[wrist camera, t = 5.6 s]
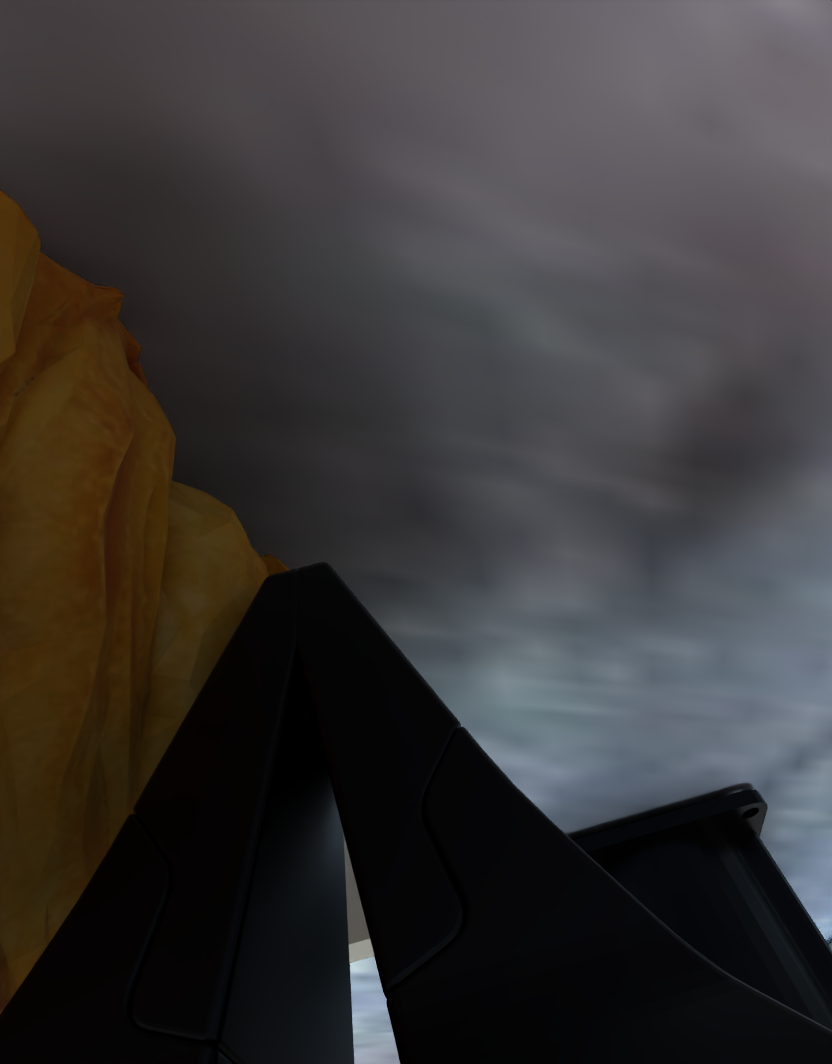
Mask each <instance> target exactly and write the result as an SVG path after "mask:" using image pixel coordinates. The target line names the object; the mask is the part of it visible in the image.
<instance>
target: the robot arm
mask: <svg viewBox="0 0 832 1064" xmlns="http://www.w3.org/2000/svg"><path fill="white" fill-rule="evenodd" d="M133 811H134V813H135V814H136V815H135V814H130V815H128V817H127V818H126V820H125V822H124V823H123V825H122V827H121V829H120V830H119V832H118V834H117V836H116V837H115V839H114V841H113V843H112V844H111V846H110V848H109V849H108V851H107V853H106V854H105V856H104V858H103V859H102V861H101V863H100V864H99V866H98V867H97V869H96V871H95V872H94V874H93V876H92V877H91V879H90V881H89V882H88V884H87V886H86V887H85V889H84V890H83V892H82V894H81V895H80V897H79V899H78V900H77V902H76V903H75V905H74V906H73V908H72V909H71V911H70V912H69V914H68V915H67V917H66V918H65V920H64V921H63V923H62V924H61V926H60V927H59V929H58V930H57V932H56V933H55V935H54V936H53V938H52V939H51V941H50V942H49V944H48V945H47V947H46V948H45V950H44V951H43V953H42V954H41V956H40V957H39V959H38V960H37V962H36V963H35V965H34V966H33V968H32V969H31V971H30V972H29V973H28V975H27V976H26V978H25V979H24V981H23V982H22V983H21V985H20V986H19V988H18V989H17V991H16V992H15V994H14V995H13V996H12V998H11V999H10V1001H9V1002H8V1004H7V1005H6V1006H5V1008H4V1009H3V1011H2V1012H1V1014H0V1064H354V1048H353V1026H352V1005H351V983H350V961H349V940H348V918H347V896H346V874H345V853H344V837H345V841H346V845H347V849H348V853H349V857H350V861H351V865H352V869H353V873H354V877H355V881H356V885H357V889H358V893H359V897H360V901H361V905H362V909H363V913H364V917H365V921H366V925H367V929H368V933H369V937H370V941H371V945H372V949H373V953H374V957H375V961H376V965H377V969H378V973H379V976H380V980H381V984H382V988H383V992H384V995H385V997H386V999H387V1008H388V1012H389V1016H390V1020H391V1025H392V1029H393V1033H394V1037H395V1042H396V1046H397V1050H398V1055H399V1060H400V1064H832V950H831V948H830V947H829V945H828V943H827V942H826V940H825V939H824V937H823V936H822V934H821V933H820V931H819V929H818V928H817V926H816V925H815V923H814V922H813V920H812V919H811V917H810V915H809V914H808V912H807V911H806V909H805V908H804V906H803V905H802V903H801V901H800V900H799V898H798V897H797V895H796V894H795V892H794V891H793V889H792V887H791V886H790V884H789V883H788V881H787V880H786V878H785V877H784V875H783V873H782V872H781V870H780V869H779V867H778V866H777V864H776V863H775V861H774V860H773V858H772V856H771V855H770V853H769V852H768V850H767V849H766V847H765V846H764V844H763V842H762V841H761V839H760V838H759V836H760V833H761V829H762V826H763V822H764V819H765V815H766V812H767V804H766V802H765V801H764V799H763V798H762V796H761V795H760V793H759V792H758V791H756V790H752V789H750V790H745V791H741V792H738V793H734V794H731V795H727V796H724V797H720V798H717V799H714V800H710V801H707V802H703V803H700V804H696V805H693V806H689V807H686V808H683V809H679V810H676V811H672V812H669V813H665V814H662V815H658V816H655V817H652V818H648V819H645V820H641V821H638V822H634V823H631V824H627V825H624V826H621V827H617V828H614V829H610V830H607V831H603V832H600V833H597V834H593V835H590V836H586V837H583V838H579V839H576V840H571V839H570V838H569V837H568V836H567V835H566V834H565V833H564V832H563V831H562V830H561V829H559V828H558V827H557V826H556V825H555V824H554V823H553V822H552V821H551V820H550V819H549V818H548V817H547V816H546V815H545V814H544V813H543V812H542V811H541V810H540V809H539V808H538V807H537V806H535V805H534V804H533V803H532V802H531V801H530V800H529V799H528V798H527V797H526V796H525V795H524V794H523V793H522V792H521V791H520V790H519V789H518V788H517V787H516V786H515V785H514V784H513V783H512V782H511V780H510V779H509V778H508V777H507V776H506V775H505V774H504V773H503V772H502V770H501V769H500V768H499V767H498V766H497V765H496V764H495V763H494V761H493V760H492V759H491V758H490V757H489V756H488V755H487V754H486V753H485V751H484V750H483V749H482V748H481V747H480V745H479V744H478V743H477V742H476V741H475V739H474V738H473V737H472V736H471V735H470V733H469V732H468V731H467V730H466V729H465V728H464V727H461V724H460V722H459V721H458V719H457V718H456V717H455V716H454V715H453V713H452V712H451V711H450V710H449V709H448V707H447V706H446V705H445V704H444V703H443V701H442V700H441V699H440V698H439V697H438V695H437V694H436V693H435V692H434V690H433V689H432V688H431V687H430V686H429V684H428V683H427V682H426V681H425V680H424V678H423V677H422V676H421V675H420V674H419V672H418V671H417V670H416V669H415V668H414V666H413V665H412V664H411V663H410V661H409V660H408V659H407V658H406V657H405V655H404V654H403V653H402V652H401V651H400V649H399V648H398V647H397V646H396V645H395V643H394V642H393V641H392V640H391V639H390V637H389V636H388V635H387V634H386V632H385V631H384V630H383V629H382V628H381V626H380V625H379V624H378V623H377V622H376V620H375V619H374V618H373V617H372V616H371V614H370V613H369V612H368V611H367V610H366V608H365V607H364V606H363V605H362V603H361V602H360V601H359V600H358V599H357V597H356V596H355V595H354V594H353V593H352V591H351V590H350V589H349V588H348V587H347V585H346V584H345V583H344V582H343V581H342V579H341V578H340V577H339V576H338V574H337V573H336V572H335V571H334V570H333V568H332V567H331V566H330V565H329V564H328V563H325V562H321V563H317V564H313V565H309V566H305V567H301V568H298V569H293V570H289V571H285V572H281V573H277V574H272V575H270V576H268V577H266V578H265V580H264V581H263V583H262V585H261V586H260V588H259V590H258V592H257V593H256V595H255V597H254V598H253V600H252V602H251V604H250V605H249V607H248V609H247V611H246V612H245V614H244V616H243V618H242V619H241V621H240V623H239V624H238V626H237V628H236V630H235V631H234V633H233V635H232V637H231V638H230V640H229V642H228V644H227V645H226V647H225V649H224V651H223V652H222V654H221V656H220V657H219V659H218V661H217V663H216V664H215V666H214V668H213V670H212V671H211V673H210V675H209V677H208V678H207V680H206V682H205V683H204V685H203V687H202V689H201V690H200V692H199V694H198V696H197V697H196V699H195V701H194V703H193V704H192V706H191V708H190V710H189V711H188V713H187V715H186V716H185V718H184V720H183V722H182V723H181V725H180V727H179V729H178V730H177V732H176V734H175V736H174V737H173V739H172V741H171V742H170V744H169V746H168V748H167V749H166V751H165V753H164V755H163V756H162V758H161V760H160V762H159V763H158V765H157V767H156V769H155V770H154V772H153V774H152V775H151V777H150V779H149V781H148V782H147V784H146V786H145V788H144V789H143V791H142V793H141V795H140V796H139V798H138V800H137V801H136V803H135V805H134V807H133Z"/></svg>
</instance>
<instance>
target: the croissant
mask: <svg viewBox="0 0 832 1064" xmlns="http://www.w3.org/2000/svg"><path fill="white" fill-rule="evenodd" d="M40 248H41V242H40V239H39V235H38V231H37V230H36V228H35V227H34V226H33V224H32V223H31V221H30V220H29V219H28V217H27V216H26V214H25V213H24V211H23V210H22V209H21V207H20V206H19V205H18V204H17V203H16V202H15V201H14V200H12V199H11V198H10V197H9V196H7V195H6V194H5V193H4V192H2V191H1V190H0V1014H1V1012H2V1011H3V1009H4V1008H5V1006H6V1005H7V1004H8V1002H9V1001H10V999H11V998H12V996H13V995H14V994H15V992H16V991H17V989H18V988H19V986H20V985H21V983H22V982H23V981H24V979H25V978H26V976H27V975H28V973H29V972H30V971H31V969H32V968H33V966H34V965H35V963H36V962H37V960H38V959H39V957H40V956H41V954H42V953H43V951H44V950H45V948H46V947H47V945H48V944H49V942H50V941H51V939H52V938H53V936H54V935H55V933H56V932H57V930H58V929H59V927H60V926H61V924H62V923H63V921H64V920H65V918H66V917H67V915H68V914H69V912H70V911H71V909H72V908H73V906H74V905H75V903H76V902H77V900H78V899H79V897H80V895H81V894H82V892H83V890H84V889H85V887H86V886H87V884H88V882H89V881H90V879H91V877H92V876H93V874H94V872H95V871H96V869H97V867H98V866H99V864H100V863H101V861H102V859H103V858H104V856H105V854H106V853H107V851H108V849H109V848H110V846H111V844H112V843H113V841H114V839H115V837H116V836H117V834H118V832H119V830H120V829H121V827H122V825H123V823H124V822H125V820H126V818H127V817H128V815H130V814H135V813H134V811H133V807H134V805H135V803H136V801H137V800H138V798H139V796H140V795H141V793H142V791H143V789H144V788H145V786H146V784H147V782H148V781H149V779H150V777H151V775H152V774H153V772H154V770H155V769H156V767H157V765H158V763H159V762H160V760H161V758H162V756H163V755H164V753H165V751H166V749H167V748H168V746H169V744H170V742H171V741H172V739H173V737H174V736H175V734H176V732H177V730H178V729H179V727H180V725H181V723H182V722H183V720H184V718H185V716H186V715H187V713H188V711H189V710H190V708H191V706H192V704H193V703H194V701H195V699H196V697H197V696H198V694H199V692H200V690H201V689H202V687H203V685H204V683H205V682H206V680H207V678H208V677H209V675H210V673H211V671H212V670H213V668H214V666H215V664H216V663H217V661H218V659H219V657H220V656H221V654H222V652H223V651H224V649H225V647H226V645H227V644H228V642H229V640H230V638H231V637H232V635H233V633H234V631H235V630H236V628H237V626H238V624H239V623H240V621H241V619H242V618H243V616H244V614H245V612H246V611H247V609H248V607H249V605H250V604H251V602H252V600H253V598H254V597H255V595H256V593H257V592H258V590H259V588H260V586H261V585H262V583H263V581H264V580H265V578H266V577H268V576H270V575H272V574H277V573H281V572H285V571H289V568H288V567H287V566H286V565H285V564H284V563H282V562H281V561H280V560H279V559H277V558H275V557H274V556H272V555H270V554H267V555H265V556H259V554H258V553H257V552H256V551H255V550H254V548H253V547H252V546H251V545H250V542H249V540H248V537H247V534H246V532H245V530H244V528H243V527H242V525H241V523H240V521H239V519H238V518H237V516H236V514H235V512H234V511H233V509H231V508H230V507H228V506H227V505H225V504H224V503H222V502H220V501H219V500H217V499H216V498H214V497H213V496H211V495H209V494H208V493H206V492H204V491H201V490H198V489H195V488H192V487H190V486H187V485H184V484H181V483H178V482H175V481H172V480H171V479H172V472H173V466H174V456H175V443H176V436H175V434H174V431H173V429H172V426H171V424H170V422H169V421H168V419H167V417H166V415H165V414H164V412H163V410H162V408H161V407H160V405H159V403H158V401H157V400H156V398H155V396H154V395H153V394H152V393H151V392H150V391H149V388H148V385H147V381H146V377H145V374H144V372H143V369H142V367H141V365H140V364H139V362H138V358H139V355H140V352H141V348H142V347H141V346H140V345H139V344H138V343H137V341H136V340H135V339H134V338H133V337H132V336H131V334H130V333H129V332H128V331H127V330H126V328H125V327H124V326H123V324H122V323H121V321H120V320H119V318H118V315H119V312H120V309H121V306H122V302H121V301H120V300H121V299H122V298H123V297H124V296H125V295H124V294H123V293H122V292H121V291H120V290H119V289H118V288H114V287H106V286H99V285H94V284H92V283H90V282H88V281H87V280H85V279H83V278H81V277H80V276H78V275H76V274H75V273H73V272H71V271H69V270H68V269H66V268H64V267H62V266H61V265H59V264H57V263H56V262H54V261H53V260H51V259H50V258H49V257H47V256H46V255H45V254H43V253H42V252H41V251H40ZM135 815H136V814H135Z"/></svg>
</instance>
